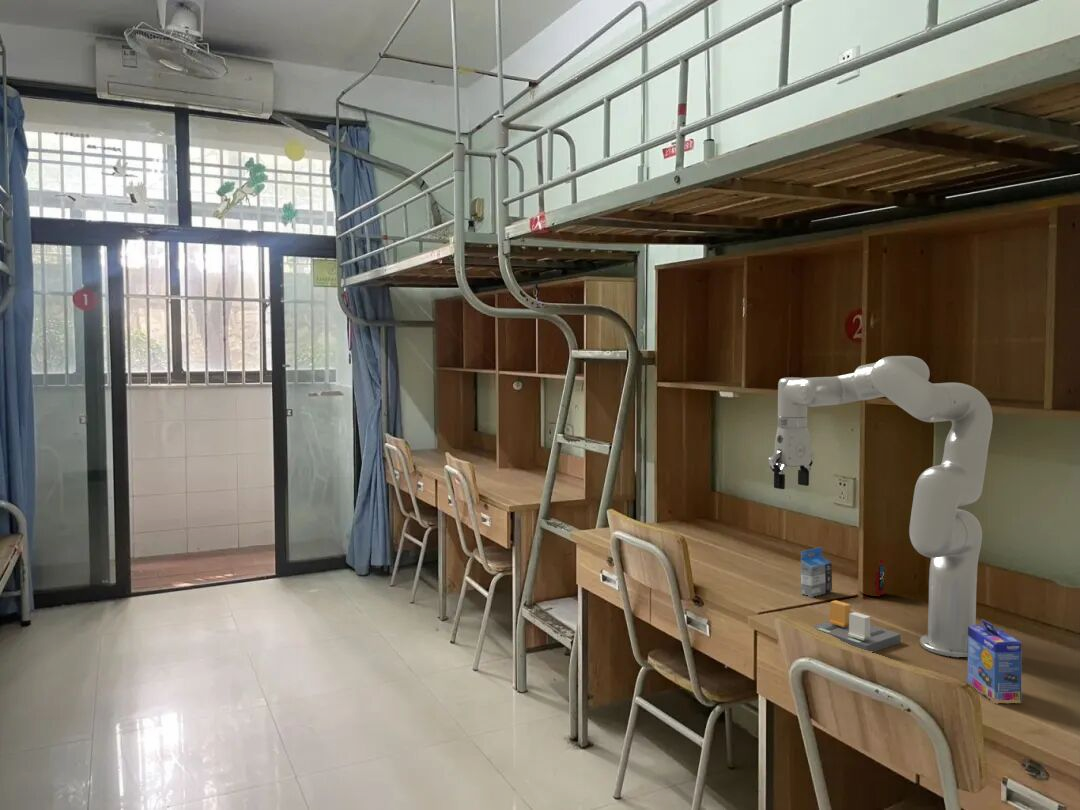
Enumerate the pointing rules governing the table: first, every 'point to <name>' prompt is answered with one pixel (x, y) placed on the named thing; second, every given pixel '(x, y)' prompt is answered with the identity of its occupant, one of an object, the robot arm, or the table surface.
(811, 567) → the label tape box
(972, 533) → the robot arm
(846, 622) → the orange breaker handle
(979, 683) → the ink cartridge box
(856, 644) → the breaker panel
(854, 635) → the white breaker handle
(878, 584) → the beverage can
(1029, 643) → the table surface
